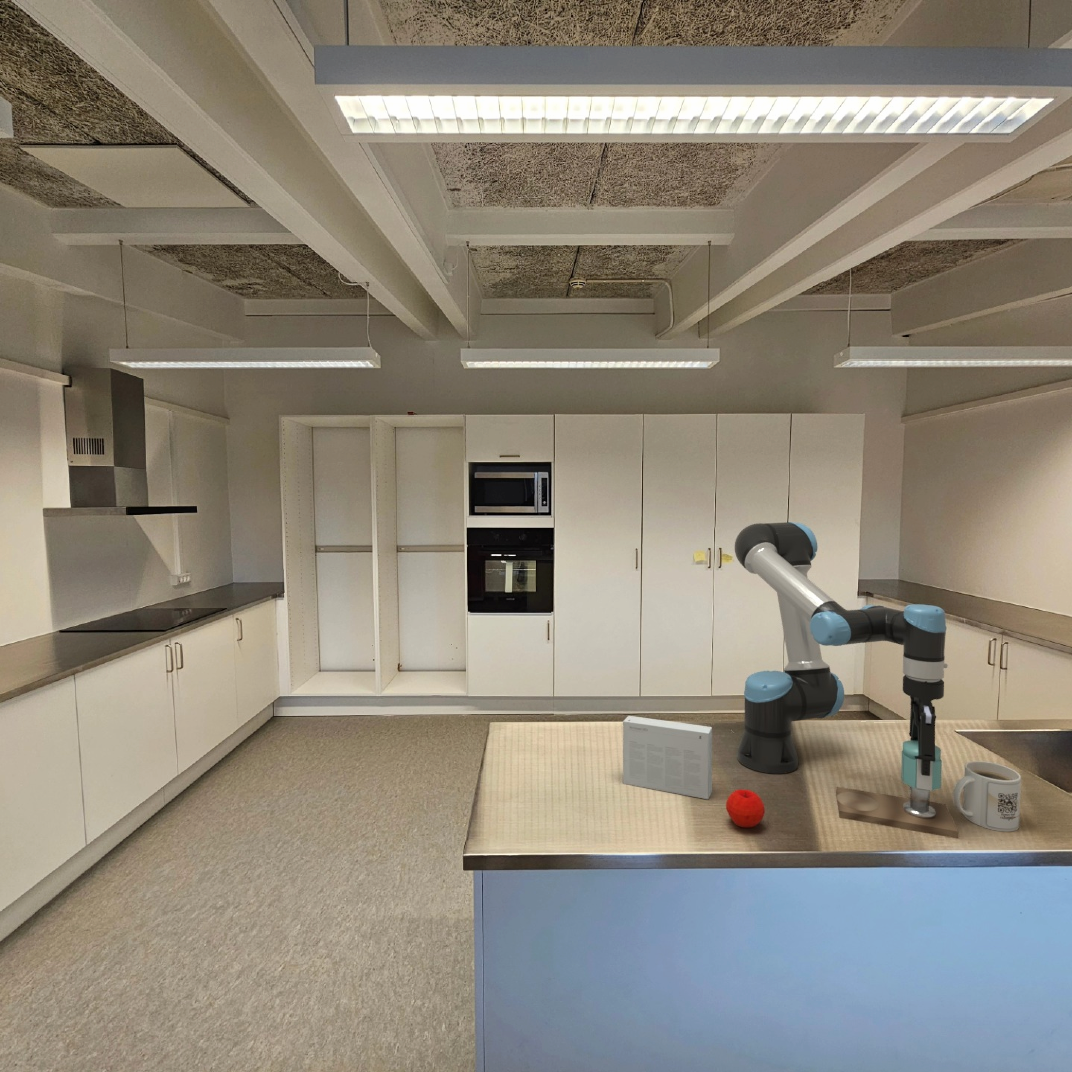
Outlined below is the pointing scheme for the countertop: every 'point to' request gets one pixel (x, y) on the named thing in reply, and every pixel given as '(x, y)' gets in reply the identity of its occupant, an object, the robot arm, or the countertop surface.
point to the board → (892, 812)
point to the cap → (911, 765)
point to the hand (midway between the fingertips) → (920, 780)
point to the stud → (919, 804)
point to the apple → (745, 808)
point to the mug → (990, 795)
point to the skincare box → (667, 756)
